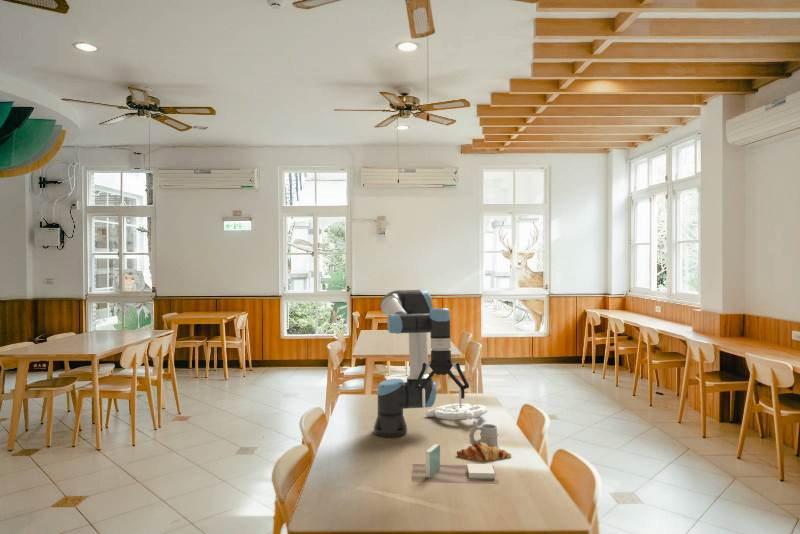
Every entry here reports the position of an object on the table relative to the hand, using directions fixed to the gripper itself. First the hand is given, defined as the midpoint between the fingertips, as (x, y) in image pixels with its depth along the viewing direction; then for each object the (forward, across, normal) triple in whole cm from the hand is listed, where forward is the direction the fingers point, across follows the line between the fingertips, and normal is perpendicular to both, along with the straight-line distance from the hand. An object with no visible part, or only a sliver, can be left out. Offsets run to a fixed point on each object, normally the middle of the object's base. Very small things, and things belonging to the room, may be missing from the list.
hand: (442, 407), depth 183 cm
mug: (+22, +15, +23) cm, 35 cm away
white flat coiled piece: (+18, +4, +64) cm, 67 cm away
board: (+24, +4, -4) cm, 24 cm away
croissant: (+23, +15, +13) cm, 30 cm away
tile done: (+23, +13, -3) cm, 26 cm away
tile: (+22, -4, -4) cm, 23 cm away
